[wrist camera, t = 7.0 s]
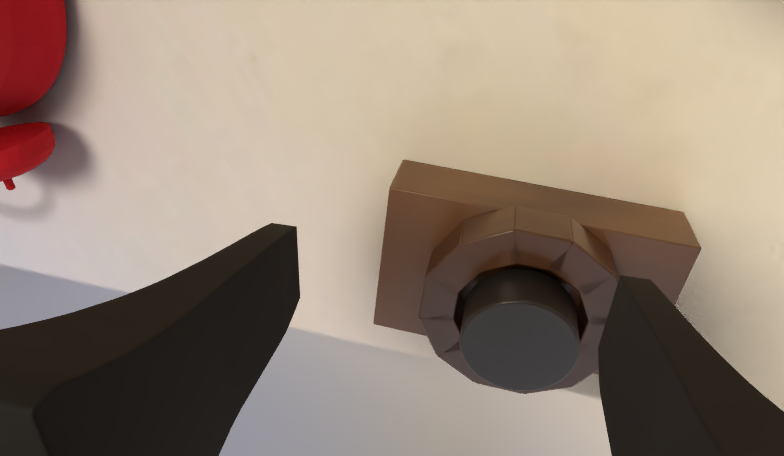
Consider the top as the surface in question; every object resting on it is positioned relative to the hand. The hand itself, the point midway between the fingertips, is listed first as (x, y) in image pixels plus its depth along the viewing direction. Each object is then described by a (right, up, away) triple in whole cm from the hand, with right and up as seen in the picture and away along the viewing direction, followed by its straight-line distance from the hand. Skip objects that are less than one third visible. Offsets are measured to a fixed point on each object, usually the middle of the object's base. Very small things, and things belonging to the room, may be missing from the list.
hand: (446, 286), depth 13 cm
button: (+3, -2, +6) cm, 7 cm away
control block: (+4, 0, +9) cm, 10 cm away
